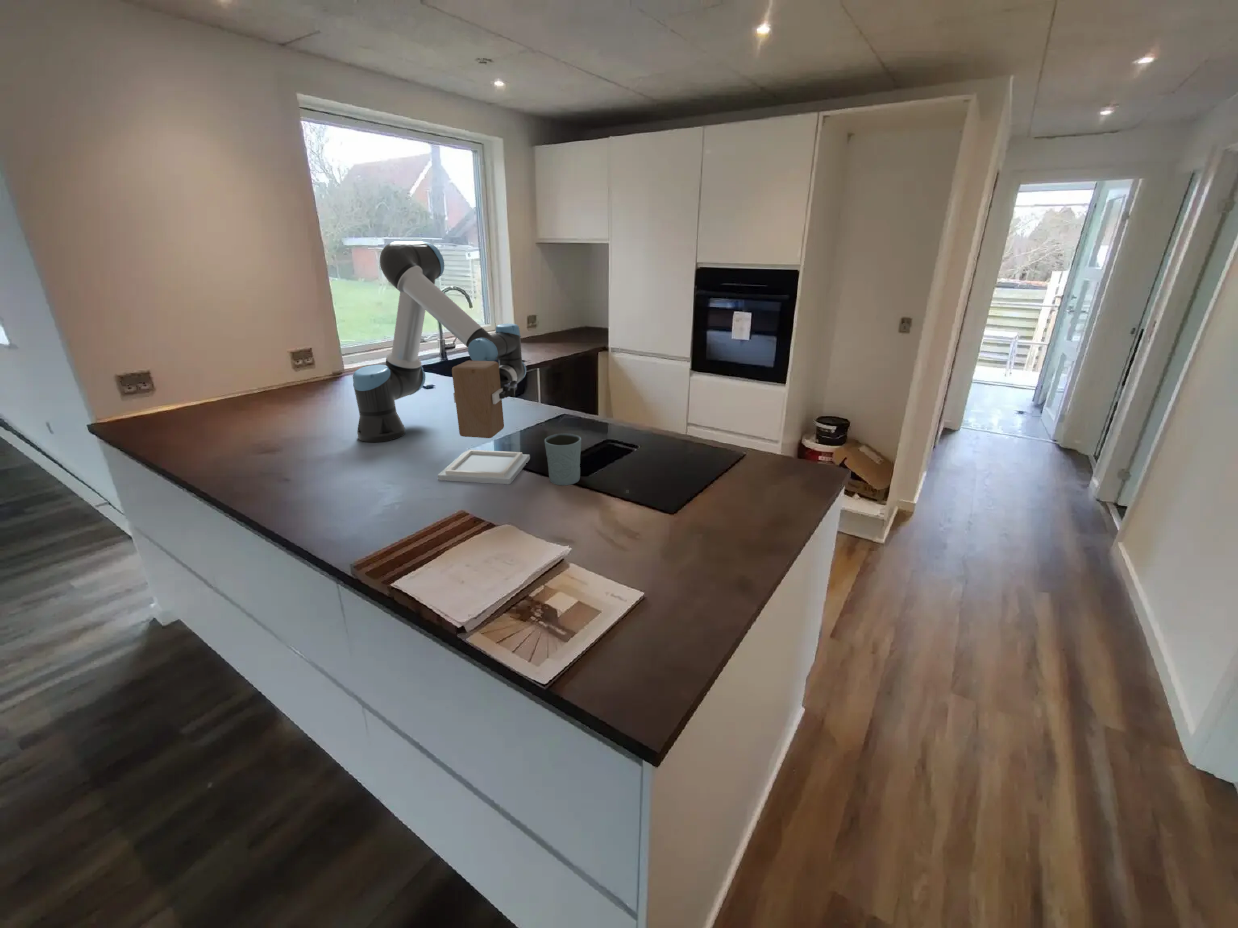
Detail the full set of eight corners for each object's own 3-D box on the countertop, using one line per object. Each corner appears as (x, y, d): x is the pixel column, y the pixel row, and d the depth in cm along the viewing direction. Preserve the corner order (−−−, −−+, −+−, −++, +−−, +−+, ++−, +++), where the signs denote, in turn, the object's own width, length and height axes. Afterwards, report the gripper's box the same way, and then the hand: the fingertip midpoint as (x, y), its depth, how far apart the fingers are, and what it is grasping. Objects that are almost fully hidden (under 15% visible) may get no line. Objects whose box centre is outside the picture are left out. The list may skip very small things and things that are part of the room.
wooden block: (491, 439, 150) (484, 368, 143) (458, 437, 152) (449, 366, 145) (505, 428, 160) (499, 360, 152) (474, 426, 161) (466, 359, 154)
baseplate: (465, 455, 170) (464, 448, 169) (530, 459, 167) (529, 451, 166) (438, 480, 152) (437, 471, 152) (509, 484, 150) (509, 476, 149)
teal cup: (554, 489, 147) (552, 447, 142) (541, 475, 155) (539, 436, 151) (588, 481, 151) (587, 441, 147) (574, 469, 159) (572, 430, 155)
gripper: (537, 392, 169) (515, 413, 149) (467, 390, 172) (436, 410, 152) (536, 368, 166) (513, 386, 146) (465, 367, 169) (433, 384, 149)
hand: (474, 398), depth 149 cm, fingers closed on wooden block, 10 cm apart
